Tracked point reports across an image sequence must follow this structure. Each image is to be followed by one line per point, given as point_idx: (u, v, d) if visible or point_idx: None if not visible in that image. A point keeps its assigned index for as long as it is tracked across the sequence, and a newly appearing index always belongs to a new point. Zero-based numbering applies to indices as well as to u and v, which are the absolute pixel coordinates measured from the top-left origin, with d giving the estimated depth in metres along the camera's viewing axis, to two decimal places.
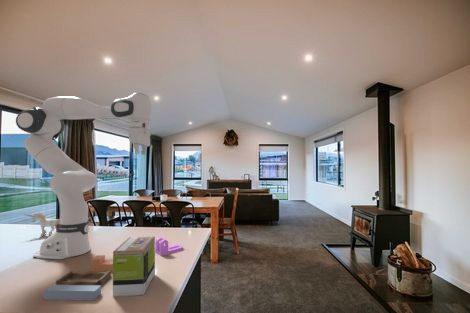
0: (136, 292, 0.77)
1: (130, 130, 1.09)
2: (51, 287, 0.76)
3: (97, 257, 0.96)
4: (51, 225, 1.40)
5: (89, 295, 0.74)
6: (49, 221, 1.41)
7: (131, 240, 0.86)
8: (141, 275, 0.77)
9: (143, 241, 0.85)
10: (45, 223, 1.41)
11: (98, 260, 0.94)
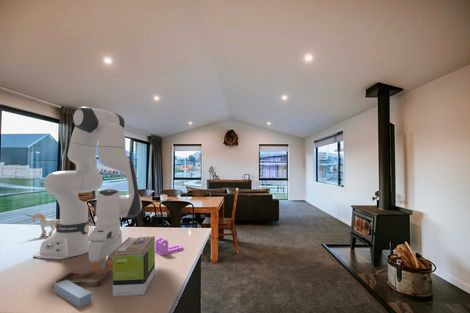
0: (136, 292, 0.77)
1: (90, 247, 0.87)
2: (62, 282, 0.80)
3: None
4: (51, 225, 1.40)
5: (76, 301, 0.71)
6: (49, 221, 1.41)
7: (131, 240, 0.86)
8: (141, 275, 0.77)
9: (143, 241, 0.85)
10: (45, 223, 1.41)
11: None
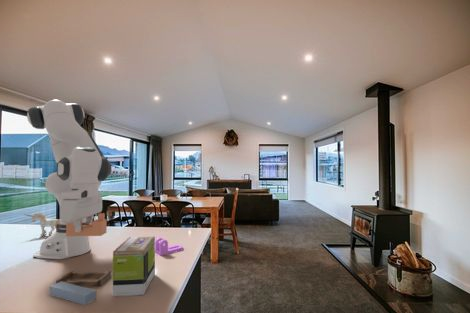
0: (136, 292, 0.77)
1: (62, 205, 0.78)
2: (57, 284, 0.78)
3: None
4: (51, 225, 1.40)
5: (81, 299, 0.72)
6: (49, 221, 1.41)
7: (131, 240, 0.86)
8: (141, 275, 0.77)
9: (143, 241, 0.85)
10: (45, 223, 1.41)
11: None
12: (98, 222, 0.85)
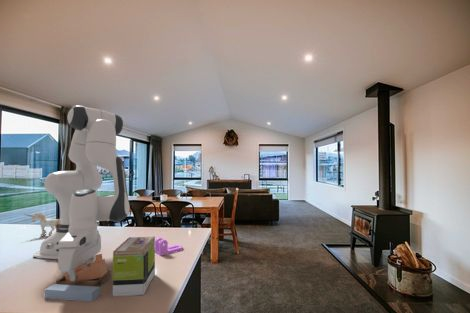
0: (136, 292, 0.77)
1: (60, 254, 0.77)
2: (52, 286, 0.77)
3: None
4: (51, 225, 1.40)
5: (87, 296, 0.73)
6: (49, 221, 1.41)
7: (131, 240, 0.86)
8: (141, 275, 0.77)
9: (143, 241, 0.85)
10: (45, 223, 1.41)
11: None
12: (96, 264, 0.85)
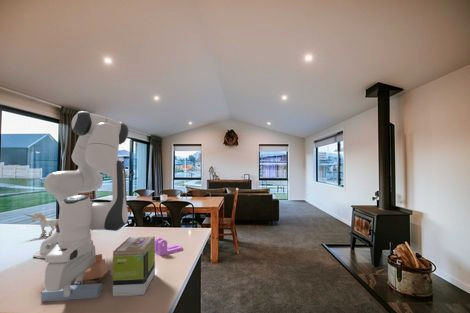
0: (136, 292, 0.77)
1: (47, 271, 0.67)
2: None
3: None
4: (51, 225, 1.40)
5: (91, 293, 0.75)
6: (49, 221, 1.41)
7: (131, 240, 0.86)
8: (141, 275, 0.77)
9: (143, 241, 0.85)
10: (45, 223, 1.41)
11: None
12: (96, 264, 0.85)
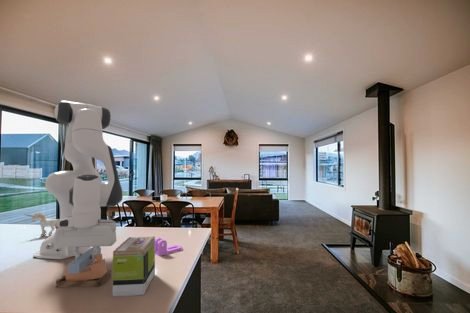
0: (136, 292, 0.77)
1: None
2: None
3: None
4: (51, 225, 1.40)
5: None
6: (49, 221, 1.41)
7: (131, 240, 0.86)
8: (141, 275, 0.77)
9: (143, 241, 0.85)
10: (45, 223, 1.41)
11: None
12: (96, 264, 0.85)
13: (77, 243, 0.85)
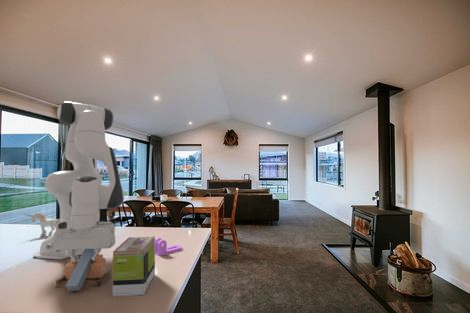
0: (136, 292, 0.77)
1: None
2: None
3: (71, 263, 0.85)
4: (51, 225, 1.40)
5: None
6: (49, 221, 1.41)
7: (131, 240, 0.86)
8: (141, 275, 0.77)
9: (143, 241, 0.85)
10: (45, 223, 1.41)
11: (72, 267, 0.83)
12: (97, 265, 0.84)
13: (76, 245, 0.84)
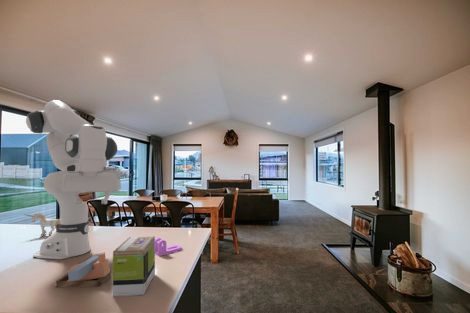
0: (136, 292, 0.77)
1: None
2: None
3: (75, 266, 0.86)
4: (51, 225, 1.40)
5: None
6: (49, 221, 1.41)
7: (131, 240, 0.86)
8: (141, 275, 0.77)
9: (143, 241, 0.85)
10: (45, 223, 1.41)
11: None
12: (99, 263, 0.85)
13: (83, 188, 0.88)
